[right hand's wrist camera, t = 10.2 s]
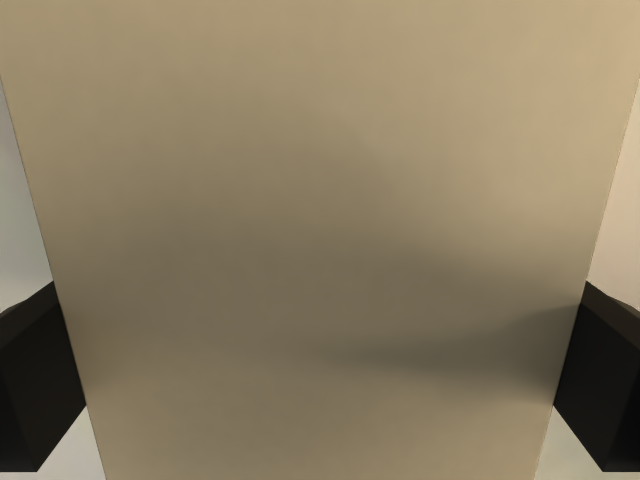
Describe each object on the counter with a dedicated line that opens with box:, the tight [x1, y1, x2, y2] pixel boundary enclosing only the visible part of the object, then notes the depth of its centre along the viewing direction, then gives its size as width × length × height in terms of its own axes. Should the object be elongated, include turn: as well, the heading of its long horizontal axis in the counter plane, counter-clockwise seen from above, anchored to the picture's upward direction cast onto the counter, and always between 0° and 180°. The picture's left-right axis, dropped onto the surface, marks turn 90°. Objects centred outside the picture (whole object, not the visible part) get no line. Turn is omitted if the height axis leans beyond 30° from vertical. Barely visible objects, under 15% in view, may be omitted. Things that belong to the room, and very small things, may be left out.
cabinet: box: [0, 0, 640, 480], centre depth 10 cm, size 21×11×9 cm, turn 0°
